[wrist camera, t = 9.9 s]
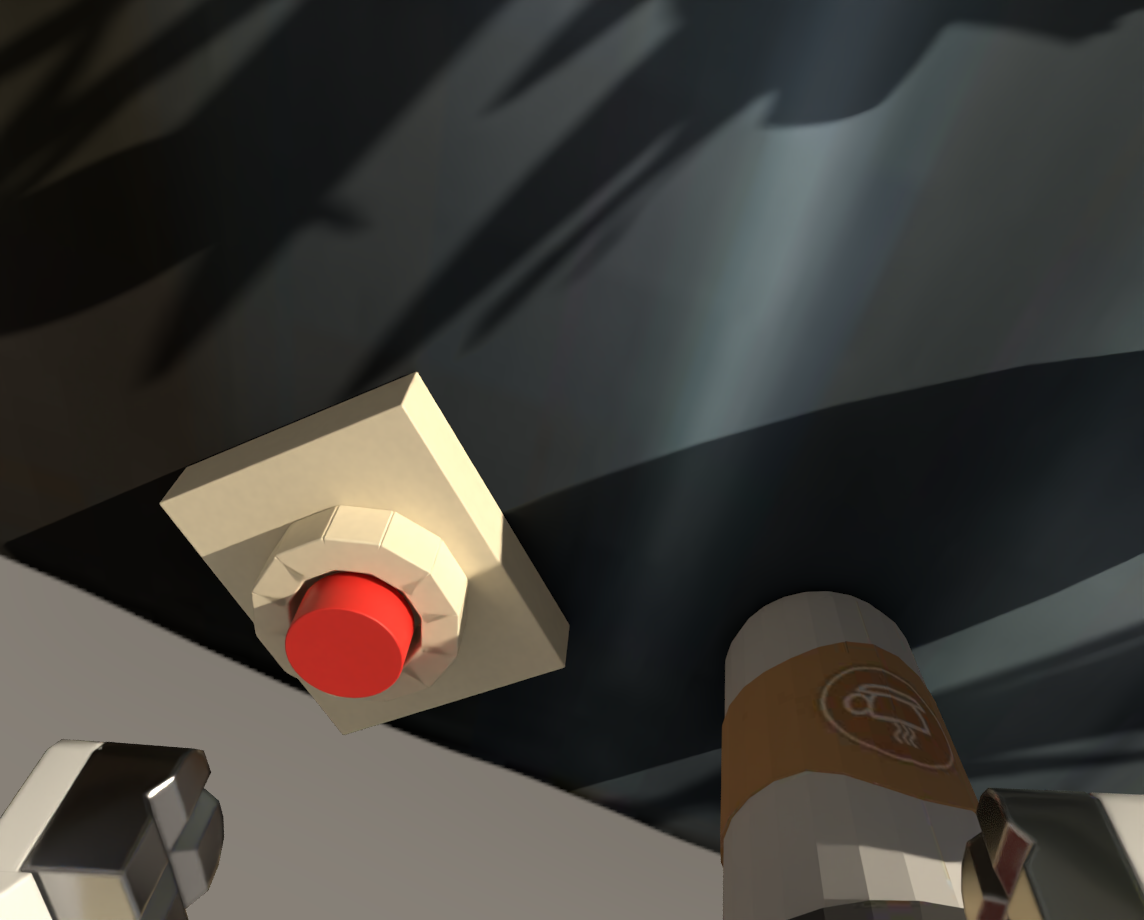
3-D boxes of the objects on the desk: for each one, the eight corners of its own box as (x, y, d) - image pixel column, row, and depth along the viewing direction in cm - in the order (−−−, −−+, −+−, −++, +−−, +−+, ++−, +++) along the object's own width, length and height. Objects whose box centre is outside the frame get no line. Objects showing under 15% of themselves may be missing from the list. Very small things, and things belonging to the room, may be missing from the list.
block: (185, 466, 34) (132, 537, 30) (417, 370, 31) (388, 435, 28) (358, 692, 39) (329, 775, 35) (570, 625, 36) (561, 706, 33)
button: (279, 592, 31) (260, 629, 30) (377, 556, 30) (362, 593, 29) (340, 672, 33) (325, 711, 32) (435, 641, 32) (424, 680, 31)
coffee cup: (980, 601, 34) (1173, 1052, 21) (870, 762, 38) (976, 1217, 26) (750, 531, 33) (808, 958, 21) (663, 703, 38) (666, 1144, 25)
